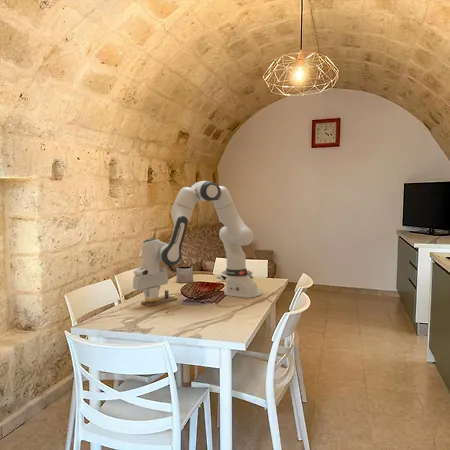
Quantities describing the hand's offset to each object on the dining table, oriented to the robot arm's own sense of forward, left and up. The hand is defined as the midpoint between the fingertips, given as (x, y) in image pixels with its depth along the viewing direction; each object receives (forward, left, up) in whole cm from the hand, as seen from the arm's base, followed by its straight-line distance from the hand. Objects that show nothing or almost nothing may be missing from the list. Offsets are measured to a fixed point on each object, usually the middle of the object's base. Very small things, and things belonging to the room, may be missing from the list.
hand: (151, 295), depth 212 cm
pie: (+11, -80, -5) cm, 81 cm away
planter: (+29, -48, -5) cm, 56 cm away
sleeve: (0, 0, -3) cm, 3 cm away
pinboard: (0, -5, -5) cm, 7 cm away
